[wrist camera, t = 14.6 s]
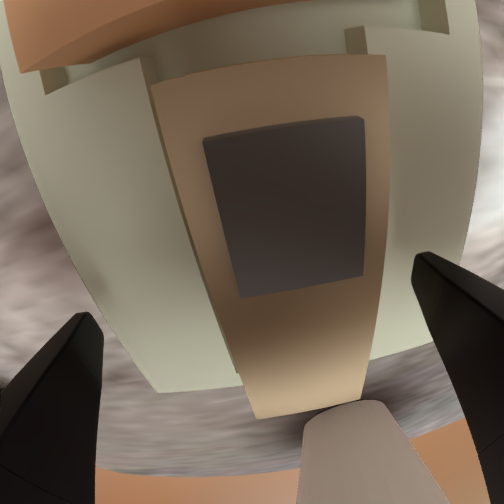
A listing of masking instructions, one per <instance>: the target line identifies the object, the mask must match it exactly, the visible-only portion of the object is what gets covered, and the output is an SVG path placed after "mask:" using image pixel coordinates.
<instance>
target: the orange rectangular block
mask: <svg viewBox="0 0 504 504" xmlns="http://www.w3.org/2000/svg"><path fill="white" fill-rule="evenodd" d="M3 1H4V7H5V12H6V17H7V22H8V27H9V32H10V36H11V40H12V44H13V48H14V52H15V56H16V60H17V63H18V67H19V70H20V74H22V73H27V72H32V71H38V70H44V69H50V68H57V67H64V66H72V65H81V64H91V63H93V62H95V61H97V60H99V59H101V58H103V57H105V56H107V55H110V54H112V53H114V52H116V51H118V50H121V49H123V48H125V47H128V46H130V45H133V44H135V43H138V42H140V41H143V40H145V39H148V38H150V37H153V36H156V35H159V34H161V33H164V32H167V31H170V30H173V29H176V28H179V27H182V26H186V25H189V24H192V23H196V22H199V21H203V20H206V19H210V18H214V17H218V16H222V15H226V14H230V13H235V12H239V11H244V10H249V9H254V8H260V7H265V6H271V5H278V4H285V3H293V2H301V1H311V0H3Z"/></svg>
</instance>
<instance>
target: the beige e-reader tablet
mask: <svg viewBox="0 0 504 504" xmlns="http://www.w3.org/2000/svg"><path fill="white" fill-rule="evenodd" d="M150 87H151V92H152V96H153V100H154V104H155V108H156V112H157V116H158V119H159V123H160V127H161V131H162V135H163V139H164V142H165V146H166V150H167V153H168V157H169V161H170V164H171V168H172V171H173V175H174V178H175V182H176V185H177V189H178V192H179V196H180V199H181V203H182V206H183V209H184V213H185V216H186V219H187V222H188V226H189V229H190V232H191V235H192V239H193V242H194V245H195V248H196V251H197V255H198V258H199V261H200V264H201V267H202V270H203V273H204V276H205V279H206V282H207V285H208V288H209V291H210V294H211V297H212V300H213V303H214V306H215V309H216V312H217V315H218V317H219V320H220V323H221V326H222V329H223V332H224V334H225V337H226V340H227V343H228V346H229V348H230V351H231V354H232V357H233V359H234V362H235V365H236V367H237V370H238V373H239V375H240V378H241V381H242V383H243V386H244V389H245V391H246V394H247V396H248V399H249V401H250V404H251V407H252V409H253V412H254V414H255V417H256V419H263V418H270V417H277V416H283V415H289V414H295V413H300V412H305V411H310V410H315V409H320V408H325V407H329V406H334V405H338V404H342V403H347V402H351V401H355V400H358V399H360V397H361V393H362V389H363V385H364V381H365V376H366V372H367V367H368V363H369V358H370V353H371V348H372V343H373V337H374V332H375V326H376V320H377V314H378V308H379V301H380V294H381V287H382V279H383V271H384V262H385V252H386V242H387V230H388V216H389V198H390V164H391V139H390V106H389V88H388V75H387V64H386V55H373V54H325V55H307V56H295V57H285V58H276V59H268V60H261V61H254V62H247V63H241V64H235V65H230V66H224V67H219V68H214V69H209V70H204V71H200V72H195V73H191V74H187V75H183V76H180V77H176V78H173V79H170V80H166V81H163V82H160V83H157V84H154V85H151V86H150Z"/></svg>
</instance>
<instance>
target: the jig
mask: <svg viewBox="0 0 504 504" xmlns="http://www.w3.org/2000/svg"><path fill="white" fill-rule="evenodd" d="M325 54H373V55H386V64H387V75H388V88H389V106H390V139H391V164H390V198H389V216H388V230H387V242H386V252H385V262H384V271H383V279H382V287H381V294H380V301H379V308H378V314H377V320H376V326H375V332H374V337H373V343H372V348H371V353H370V358H369V360H373V359H376V358H380V357H384V356H387V355H391V354H394V353H398V352H401V351H404V350H408V349H411V348H414V347H417V346H420V345H423V344H426V343H429V342H432V341H433V339H432V337H431V334H430V332H429V330H428V327H427V325H426V322H425V319H424V316H423V314H422V311H421V308H420V306H419V303H418V300H417V298H416V295H415V293H414V290H413V287H412V284H411V273H412V268H413V262H414V257H415V255H416V254H418V253H421V252H426V251H430V252H432V253H434V254H436V255H438V256H440V257H442V258H444V259H446V260H448V261H450V262H452V263H454V264H456V265H458V266H459V264H460V260H461V256H462V252H463V248H464V244H465V240H466V236H467V231H468V226H469V222H470V217H471V211H472V206H473V200H474V194H475V188H476V181H477V173H478V165H479V156H480V145H481V132H482V110H483V77H482V56H481V43H480V33H479V24H478V17H477V10H476V4H475V0H311V1H301V2H293V3H285V4H278V5H271V6H265V7H260V8H254V9H249V10H244V11H239V12H235V13H230V14H226V15H222V16H218V17H214V18H210V19H206V20H203V21H199V22H196V23H192V24H189V25H186V26H182V27H179V28H176V29H173V30H170V31H167V32H164V33H161V34H159V35H156V36H153V37H150V38H148V39H145V40H143V41H140V42H138V43H135V44H133V45H130V46H128V47H125V48H123V49H121V50H118V51H116V52H114V53H112V54H110V55H107V56H105V57H103V58H101V59H99V60H97V61H95V62H93V63H91V64H81V65H72V66H64V67H57V68H50V69H44V70H38V71H32V72H27V73H22V74H20V70H19V67H18V63H17V60H16V56H15V52H14V48H13V44H12V40H11V36H10V32H9V27H8V22H7V17H6V12H5V7H4V1H3V0H0V66H1V71H2V76H3V80H4V85H5V89H6V93H7V97H8V101H9V105H10V108H11V112H12V115H13V119H14V122H15V126H16V129H17V132H18V135H19V138H20V141H21V144H22V147H23V150H24V153H25V156H26V159H27V162H28V164H29V167H30V170H31V172H32V175H33V178H34V180H35V183H36V185H37V188H38V190H39V193H40V195H41V197H42V200H43V202H44V204H45V207H46V209H47V211H48V213H49V216H50V218H51V220H52V222H53V224H54V226H55V229H56V231H57V233H58V235H59V237H60V239H61V241H62V243H63V245H64V247H65V249H66V251H67V253H68V255H69V257H70V259H71V261H72V263H73V264H74V266H75V268H76V270H77V272H78V274H79V275H80V277H81V279H82V281H83V283H84V284H85V286H86V288H87V290H88V291H89V293H90V295H91V297H92V298H93V300H94V302H95V303H96V305H97V307H98V308H99V310H100V311H101V313H102V315H103V316H104V318H105V319H106V321H107V323H108V324H109V326H110V327H111V329H112V330H113V332H114V333H115V335H116V336H117V338H118V339H119V341H120V342H121V344H122V345H123V347H124V348H125V350H126V351H127V353H128V354H129V355H130V357H131V358H132V360H133V361H134V363H135V364H136V365H137V367H138V368H139V369H140V371H141V372H142V374H143V375H144V376H145V378H146V379H147V380H148V382H149V383H150V384H151V385H152V387H153V388H154V389H155V391H156V392H157V393H170V392H184V391H196V390H207V389H217V388H225V387H234V386H241V385H243V383H242V381H241V378H240V375H239V373H238V370H237V367H236V365H235V362H234V359H233V357H232V354H231V351H230V348H229V346H228V343H227V340H226V337H225V334H224V332H223V329H222V326H221V323H220V320H219V317H218V315H217V312H216V309H215V306H214V303H213V300H212V297H211V294H210V291H209V288H208V285H207V282H206V279H205V276H204V273H203V270H202V267H201V264H200V261H199V258H198V255H197V251H196V248H195V245H194V242H193V239H192V235H191V232H190V229H189V226H188V222H187V219H186V216H185V213H184V209H183V206H182V203H181V199H180V196H179V192H178V189H177V185H176V182H175V178H174V175H173V171H172V168H171V164H170V161H169V157H168V153H167V150H166V146H165V142H164V139H163V135H162V131H161V127H160V123H159V119H158V116H157V112H156V108H155V104H154V100H153V96H152V92H151V87H150V86H151V85H154V84H157V83H160V82H163V81H166V80H170V79H173V78H176V77H180V76H183V75H187V74H191V73H195V72H200V71H204V70H209V69H214V68H219V67H224V66H230V65H235V64H241V63H247V62H254V61H261V60H268V59H276V58H285V57H295V56H307V55H325Z"/></svg>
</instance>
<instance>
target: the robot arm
mask: <svg viewBox="0 0 504 504" xmlns="http://www.w3.org/2000/svg"><path fill="white" fill-rule="evenodd" d="M411 284H412V287H413V290H414V293H415V295H416V298H417V300H418V303H419V306H420V308H421V311H422V314H423V316H424V319H425V322H426V325H427V327H428V330H429V332H430V334H431V337H432V339H433V341H434V343H435V345H436V347H437V350H438V352H439V354H440V356H441V358H442V361H443V363H444V365H445V368H446V370H447V372H448V375H449V377H450V379H451V382H452V384H453V387H454V389H455V392H456V394H457V397H458V399H459V402H460V405H461V407H462V410H463V413H464V415H465V418H466V420H467V424H468V426H469V429H470V432H471V435H472V438H473V441H474V444H475V447H476V451H477V453H478V457H479V461H480V464H481V468H482V471H483V475H484V478H485V482H486V486H487V490H488V494H489V498H490V503H491V504H504V290H503V289H501V288H500V287H498V286H496V285H494V284H492V283H491V282H489V281H487V280H485V279H483V278H481V277H479V276H477V275H476V274H474V273H472V272H470V271H468V270H466V269H464V268H462V267H460V266H458V265H456V264H454V263H452V262H450V261H448V260H446V259H444V258H442V257H440V256H438V255H436V254H434V253H432V252H430V251H426V252H421V253H418V254H416V255H415V257H414V262H413V268H412V273H411ZM103 346H104V335H103V332H102V330H101V328H100V327H99V325H98V324H97V322H96V321H95V319H94V318H93V316H92V315H91V314H90V313H89V312H80V313H76V314H75V315H74V316H73V317H72V318H71V319H70V320H69V321H68V322H67V323H66V324H65V325H64V326H63V327H62V328H61V329H60V330H59V331H58V332H57V333H56V334H55V335H54V336H53V337H52V338H51V339H50V340H49V341H48V342H47V343H46V344H45V345H44V346H43V347H42V348H41V349H40V350H39V351H38V352H37V353H36V354H35V355H34V356H33V357H32V359H31V360H30V361H29V362H28V363H27V364H26V365H25V366H24V367H23V368H22V369H21V370H20V371H19V373H18V374H17V375H16V376H15V377H14V378H13V379H12V380H11V381H10V383H9V384H8V385H7V386H6V387H5V388H4V389H3V390H2V392H0V504H95V462H96V443H97V429H98V417H99V407H100V397H101V388H102V367H103Z"/></svg>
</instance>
